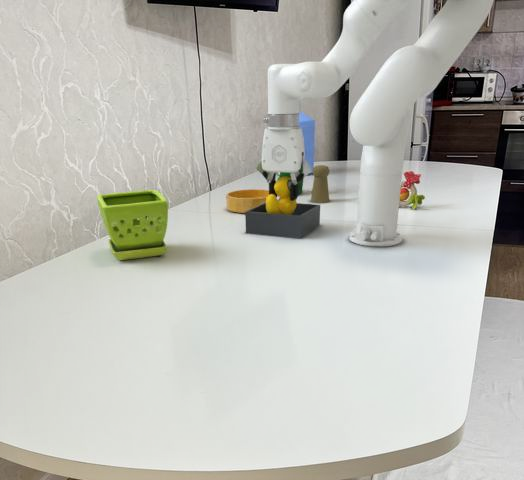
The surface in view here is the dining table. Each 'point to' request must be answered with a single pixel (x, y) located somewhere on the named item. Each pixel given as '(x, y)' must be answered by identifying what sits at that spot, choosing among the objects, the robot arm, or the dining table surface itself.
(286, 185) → the duckling
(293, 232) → the bin
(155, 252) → the flower pot
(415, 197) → the bird rattle
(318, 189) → the cork
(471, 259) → the dining table surface
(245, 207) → the bowl
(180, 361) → the dining table surface
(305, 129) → the water jug
